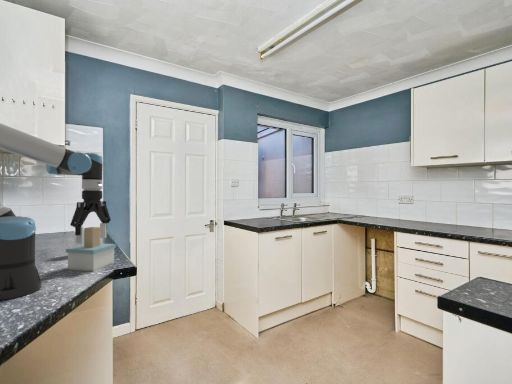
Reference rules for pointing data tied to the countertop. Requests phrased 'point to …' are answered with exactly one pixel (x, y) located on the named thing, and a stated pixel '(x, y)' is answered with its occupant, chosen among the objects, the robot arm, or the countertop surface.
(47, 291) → the countertop surface
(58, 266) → the countertop surface
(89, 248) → the lid
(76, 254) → the tub
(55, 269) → the countertop surface
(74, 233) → the mug
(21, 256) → the robot arm
